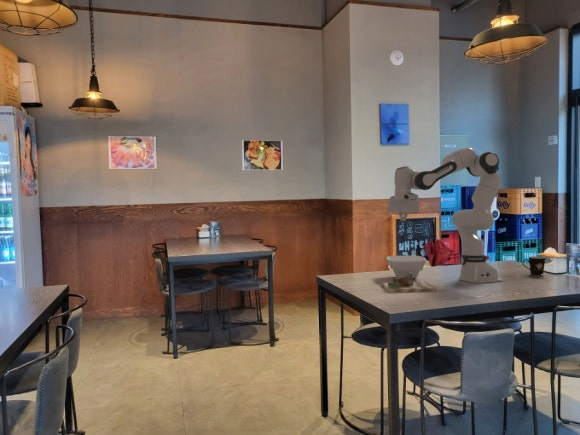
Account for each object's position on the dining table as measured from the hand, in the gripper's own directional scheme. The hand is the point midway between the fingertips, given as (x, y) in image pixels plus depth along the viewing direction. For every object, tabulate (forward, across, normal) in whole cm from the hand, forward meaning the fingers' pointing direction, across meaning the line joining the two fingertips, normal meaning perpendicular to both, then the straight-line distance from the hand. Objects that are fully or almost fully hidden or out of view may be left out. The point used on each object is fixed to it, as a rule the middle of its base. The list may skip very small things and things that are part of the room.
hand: (403, 220), depth 260 cm
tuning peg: (+32, +14, -15) cm, 38 cm away
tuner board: (+34, +15, -12) cm, 39 cm away
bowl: (+34, -7, +8) cm, 36 cm away
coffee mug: (+34, +32, +73) cm, 87 cm away
